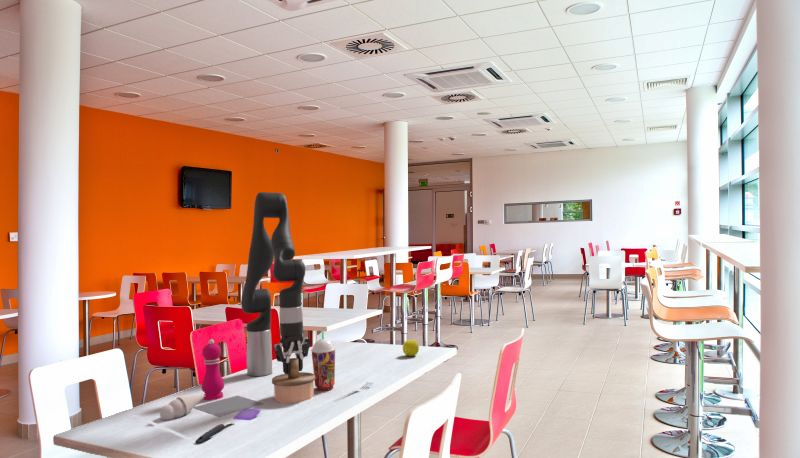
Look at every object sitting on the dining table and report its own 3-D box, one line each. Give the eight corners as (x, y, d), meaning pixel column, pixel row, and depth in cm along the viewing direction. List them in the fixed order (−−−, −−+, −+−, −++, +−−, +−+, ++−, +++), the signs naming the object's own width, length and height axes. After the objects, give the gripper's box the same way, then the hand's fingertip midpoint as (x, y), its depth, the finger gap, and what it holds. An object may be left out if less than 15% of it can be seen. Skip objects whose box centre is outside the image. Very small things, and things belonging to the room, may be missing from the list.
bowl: (267, 400, 187) (266, 382, 187) (297, 391, 196) (297, 374, 196) (290, 406, 179) (289, 387, 179) (321, 397, 188) (320, 379, 188)
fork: (322, 405, 180) (321, 400, 180) (367, 386, 201) (366, 381, 201) (330, 406, 178) (329, 401, 178) (374, 387, 199) (374, 382, 199)
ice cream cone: (208, 408, 180) (164, 430, 168) (198, 394, 183) (154, 415, 171) (213, 396, 177) (168, 417, 165) (202, 382, 180) (157, 402, 168)
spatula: (206, 447, 148) (206, 437, 148) (186, 444, 150) (185, 435, 150) (262, 417, 170) (262, 409, 170) (243, 415, 173) (243, 407, 173)
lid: (263, 382, 187) (262, 360, 187) (297, 373, 197) (296, 353, 197) (289, 388, 178) (288, 366, 178) (323, 378, 188) (323, 357, 188)
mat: (192, 409, 180) (192, 407, 180) (237, 397, 192) (237, 395, 192) (219, 418, 169) (219, 416, 169) (265, 405, 181) (264, 403, 181)
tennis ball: (402, 354, 249) (401, 338, 249) (417, 353, 250) (417, 337, 250) (403, 358, 242) (403, 341, 242) (420, 357, 243) (419, 340, 243)
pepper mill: (229, 396, 193) (226, 337, 193) (215, 402, 186) (213, 341, 187) (211, 395, 196) (209, 337, 196) (197, 401, 189) (195, 341, 189)
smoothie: (332, 392, 194) (330, 333, 194) (309, 391, 195) (307, 333, 195) (340, 385, 202) (337, 329, 202) (317, 385, 203) (315, 329, 204)
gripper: (301, 316, 195) (303, 366, 195) (266, 322, 185) (268, 375, 185) (315, 318, 190) (317, 369, 190) (280, 324, 180) (282, 378, 180)
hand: (293, 372), depth 188 cm, fingers open, 4 cm apart
